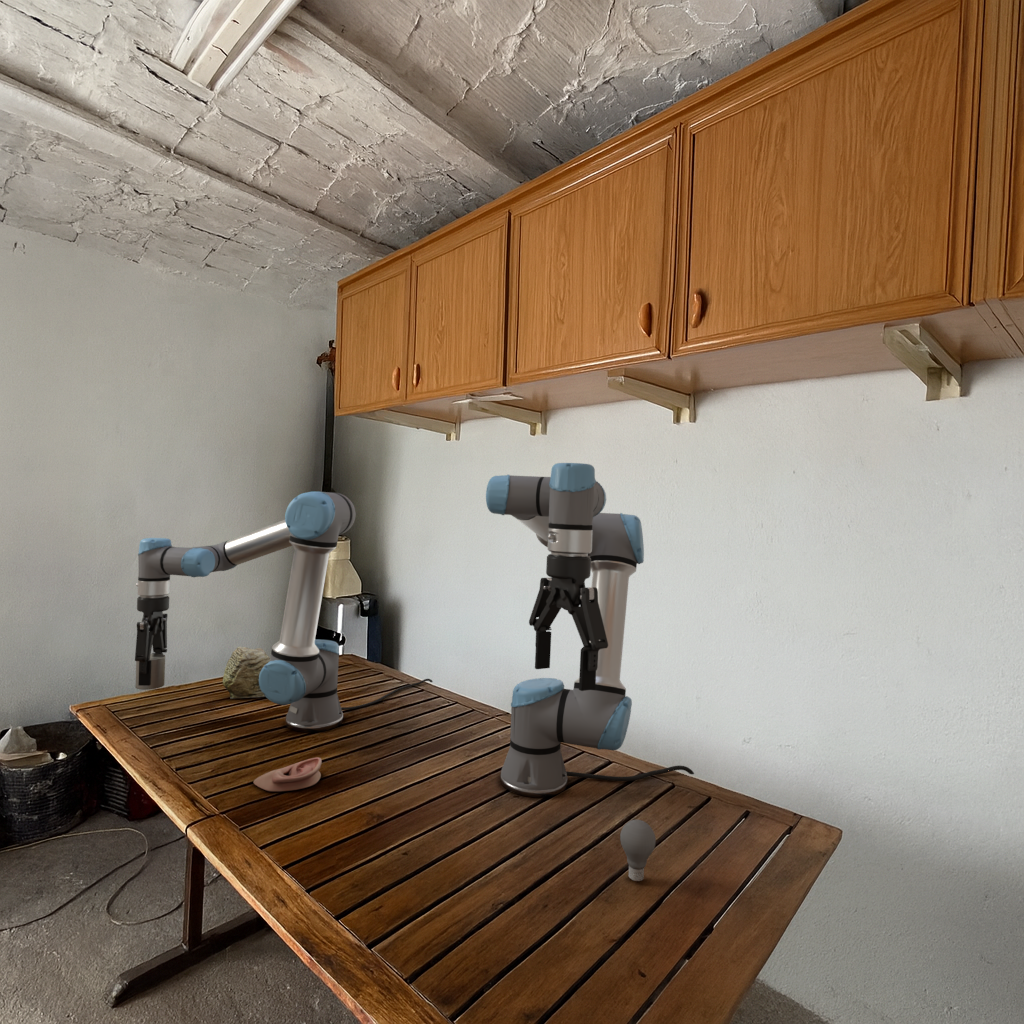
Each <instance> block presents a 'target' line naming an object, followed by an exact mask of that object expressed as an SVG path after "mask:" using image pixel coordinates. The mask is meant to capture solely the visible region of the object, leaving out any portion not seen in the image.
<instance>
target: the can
mask: <svg viewBox="0 0 1024 1024" xmlns="http://www.w3.org/2000/svg"><path fill="white" fill-rule="evenodd" d="M150 660H151V685H150V686H138V683H139V661H135V686H134V687H135V689H136V690H142V691H150V690H155V689H160V688H162V687H164V686H165V677H166V675H165V674H166V655H165V654H164V653H163V654H152V653H151V655H150Z"/></svg>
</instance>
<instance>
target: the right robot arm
mask: <svg viewBox="0 0 1024 1024" xmlns="http://www.w3.org/2000/svg"><path fill="white" fill-rule="evenodd" d="M550 471H551V472H550V476H536V475H535V476H534V475H533V476H531V475H511V474H503V475H494V476H492V477H490V479H489V480H488V481H487V485H486V490H485V502H486V507H487V510H488V511H489V512H490V513H492V514H494V515H501V516H505V515H506V516H512V517H513V518H514V519H516V520H517V521H519V522H520V523H521V524H522V525H524V526H525V527H527V528H528V529H529V530H530V531H532V532H533V533H534V534H535V535H536V538H537V540H538V541H539V543H540V544H542V545H543V546H545V548H547V551H548V552H550V553H549V554H547V556H546V567H545V574H546V576H547V577H541V578H540V581H539V590H538V593H537V596H536V599H535V601H534V604H533V607H532V611H531V613H530V617H529V620H528V625H529V626H530V627H533V630H534V631H535V655H534V656H535V657H534V669H535V670H544V669H550V668H551V650H552V649H551V648H552V627H551V626H552V625H553V623H554V621H555V619H556V618H557V616H558V614H559V613H560V612H561V609H563V610H565V611H567V613H568V614H569V615H571V616H572V619H573V622H574V624H575V627H576V630H577V633H578V635H579V638H580V641H581V643H582V645H583V646H582V647H581V648H580V655H579V656H580V657H579V660H580V661H579V676H578V678H576V679H575V680H574V683H573V689H570V688H565V684H564V682H563V681H562V680H561V679H557V678H552V677H537V678H531V679H526V680H523V681H520V682H519V683H517V684H516V685H515V686H514V687H513V690H512V697H511V703H510V707H511V710H510V735H509V737H510V739H509V749H508V751H507V754H506V757H505V759H504V761H503V765H502V767H501V771H500V784H501V786H502V787H503V788H505V790H508V792H511V793H513V794H516V795H518V796H523V797H530V798H531V797H532V798H547V797H552V796H555V795H559V794H561V793H562V792H563V791H565V790H566V788H567V787H568V777H574V778H582V779H591V780H600V781H609V782H610V781H611V782H634V781H639V780H642V779H646V778H650V777H652V776H656V775H663V774H667V773H670V772H674V771H684V772H686V773H688V774H689V775H695V772H694V771H693V770H692V768H689V767H688V766H686V765H672V766H669V767H665V768H661V769H655V770H651V771H647V772H644V773H640V774H637V775H628V776H614V775H603V774H594V773H585V772H577V771H567V770H566V765H565V763H564V758H563V755H562V750H561V749H562V748H561V747H562V743H563V744H568V745H574V746H580V747H586V748H590V749H591V748H592V749H597V750H599V751H600V750H606V751H607V750H608V751H617V750H619V749H620V748H621V747H622V746H623V745H624V741H625V739H626V736H627V733H628V729H629V724H630V719H631V715H632V706H633V702H632V701H633V700H632V698H631V697H629V696H627V694H626V692H627V688H626V686H625V685H624V684H623V683H622V681H621V673H622V672H621V671H622V660H623V651H624V650H623V649H624V638H625V637H624V636H625V629H626V628H625V626H626V616H627V606H628V605H627V604H628V592H629V583H630V582H629V581H630V577H631V576H632V575H634V574H635V573H636V572H637V564H638V565H640V564H643V563H644V561H645V549H644V548H645V546H644V545H645V544H644V534H643V527H642V521H641V518H640V517H638V515H635V514H628V513H627V514H626V513H623V512H620V513H611V512H603V510H604V508H605V507H606V503H607V493H606V490H605V488H604V487H603V485H601V483H600V482H599V481H597V479H596V470H595V467H594V466H593V465H592V464H590V463H579V462H557V463H554V464H553V466H551V470H550ZM591 572H592V580H591V586H590V587H586V583H585V582H586V580H587V579H589V578H591ZM668 770H669V771H668Z"/></svg>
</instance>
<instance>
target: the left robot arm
mask: <svg viewBox="0 0 1024 1024" xmlns="http://www.w3.org/2000/svg"><path fill="white" fill-rule="evenodd" d="M284 514H285V515H284V519H282V520H280V521H277V522H273V523H271V524H269V525H266V526H263V527H260V528H258V529H255V530H252V531H250V532H247V533H244V534H242V535H241V534H240V535H239V536H236V537H232V538H231V539H228V540H226V541H222V542H219V543H216V544H212V545H204V546H203V545H202V546H192V547H185V546H184V547H181V546H173V545H172V541H171V538H166V537H146V538H145V537H144V538H142V539H141V540H139V547H138V553H137V559H138V561H137V562H138V564H137V565H138V570H137V571H138V573H137V574H138V577H137V582H136V587H137V595H138V597H137V599H136V610H137V612H140V613H143V614H142V618H141V621H138V622H136V641H135V654H134V662H136V661H139V683H138V686H150V685H151V660H150V655H151V654H163V655H164V653H165V654H166V653H168V613H163V612H166V611H168V610H169V609H170V596H169V595H170V594H171V576H180V577H181V576H182V577H191V578H204V577H208V576H209V575H210V574H211V573H216V572H225V571H229V570H232V569H234V568H236V567H237V566H238V565H241V564H244V563H247V562H250V561H252V560H256V559H258V558H261V557H265V556H267V555H270V554H273V553H275V552H277V551H278V552H279V551H280V550H284V549H286V548H290V547H292V548H293V549H294V551H293V557H292V562H291V567H290V568H291V569H290V574H289V580H288V581H289V582H288V586H287V592H286V600H285V604H284V605H285V606H284V611H283V617H282V623H281V630H280V636H279V640H278V641H276V642H275V643H274V644H273V645H272V646H271V651H270V656H269V658H270V662H268V663H267V664H266V665H265V666H264V667H263V668H262V670H261V672H260V675H259V685H260V689H261V691H262V693H264V694H265V698H266V699H267V700H268V701H270V702H271V703H273V704H275V705H281V706H286V705H287V706H288V705H289V708H288V711H287V713H286V715H285V726H286V728H287V729H289V730H291V731H294V732H295V731H296V732H301V733H316V732H325V731H329V730H332V729H335V728H337V727H339V726H340V725H342V723H343V722H344V713H343V711H351V710H356V709H362V708H364V707H368V706H371V705H374V704H376V703H378V702H381V701H383V700H384V699H386V698H388V697H389V696H391V695H393V694H394V693H397V692H399V691H401V690H405V689H407V688H411V687H416V686H418V685H421V684H423V683H426V682H429V683H433V682H434V681H433V680H432V679H430V678H425V679H422V680H421V681H418V682H415V683H411V684H407V685H404V686H400V687H399V688H396V689H394V690H392V691H390V692H388V693H386V694H384V695H383V696H381V697H379V698H377V699H375V700H373V701H370V702H367V703H363V704H360V705H354V706H341V702H340V699H339V695H338V682H339V681H338V680H339V662H340V661H339V660H340V650H339V649H340V645H339V643H338V642H337V641H335V640H330V639H316V635H317V629H318V623H319V617H320V613H321V605H322V600H323V595H324V588H325V582H326V576H327V570H328V564H329V559H330V553H331V552H333V551H334V550H336V549H337V547H338V541H339V536H340V535H343V534H345V533H346V532H348V531H349V530H350V529H351V528H352V527H353V525H354V524H355V520H356V515H357V514H356V508H355V505H354V503H353V502H352V501H351V499H350V498H348V497H347V496H346V495H345V494H342V493H340V492H334V491H333V492H331V491H329V492H328V491H327V492H326V491H315V490H313V491H308V492H307V491H306V492H302V493H300V494H298V495H296V496H295V497H294V498H293V499H292V500H291V501H290V502H289V503H288V505H287V507H286V510H285V513H284Z"/></svg>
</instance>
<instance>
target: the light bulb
mask: <svg viewBox="0 0 1024 1024" xmlns="http://www.w3.org/2000/svg"><path fill="white" fill-rule="evenodd" d="M619 840H620V845H621V847H622V850H623V851H624V854H625V856H626V862H627V864H628V875H627V876H628V878H629V879H631V880H632V881H634V882H641V881H643V880H644V876H645V867H646V866H647V861H648V859H649V858H650V856H651V855H652V853H653V852H654V850H655V847H656V843H657V839H656V834H655V831H654V830H653V828H652V827H651V825H649V823H648V822H646V821H645V820H642V819H631V820H629V821H627V822H626V823H625V824H624V825H623V827H622V828H621V830H620V835H619Z"/></svg>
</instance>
